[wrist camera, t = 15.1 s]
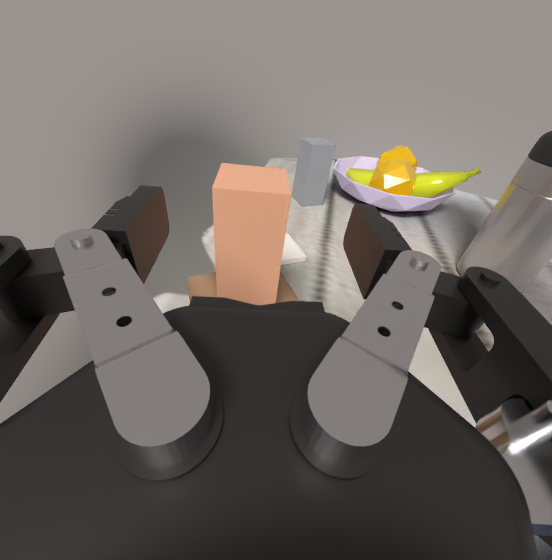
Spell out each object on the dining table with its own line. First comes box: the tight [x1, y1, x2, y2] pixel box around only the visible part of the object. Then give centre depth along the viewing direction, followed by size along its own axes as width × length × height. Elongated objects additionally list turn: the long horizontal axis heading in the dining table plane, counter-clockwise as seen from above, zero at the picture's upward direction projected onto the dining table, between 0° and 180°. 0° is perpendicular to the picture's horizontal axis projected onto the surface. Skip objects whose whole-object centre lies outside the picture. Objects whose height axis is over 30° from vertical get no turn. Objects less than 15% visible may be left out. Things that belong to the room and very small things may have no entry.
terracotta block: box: [212, 163, 291, 305], centre depth 23 cm, size 5×5×12 cm
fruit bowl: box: [333, 145, 481, 212], centre depth 61 cm, size 28×27×11 cm
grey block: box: [292, 138, 336, 206], centre depth 56 cm, size 5×5×12 cm
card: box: [281, 234, 307, 265], centre depth 42 cm, size 10×7×1 cm
